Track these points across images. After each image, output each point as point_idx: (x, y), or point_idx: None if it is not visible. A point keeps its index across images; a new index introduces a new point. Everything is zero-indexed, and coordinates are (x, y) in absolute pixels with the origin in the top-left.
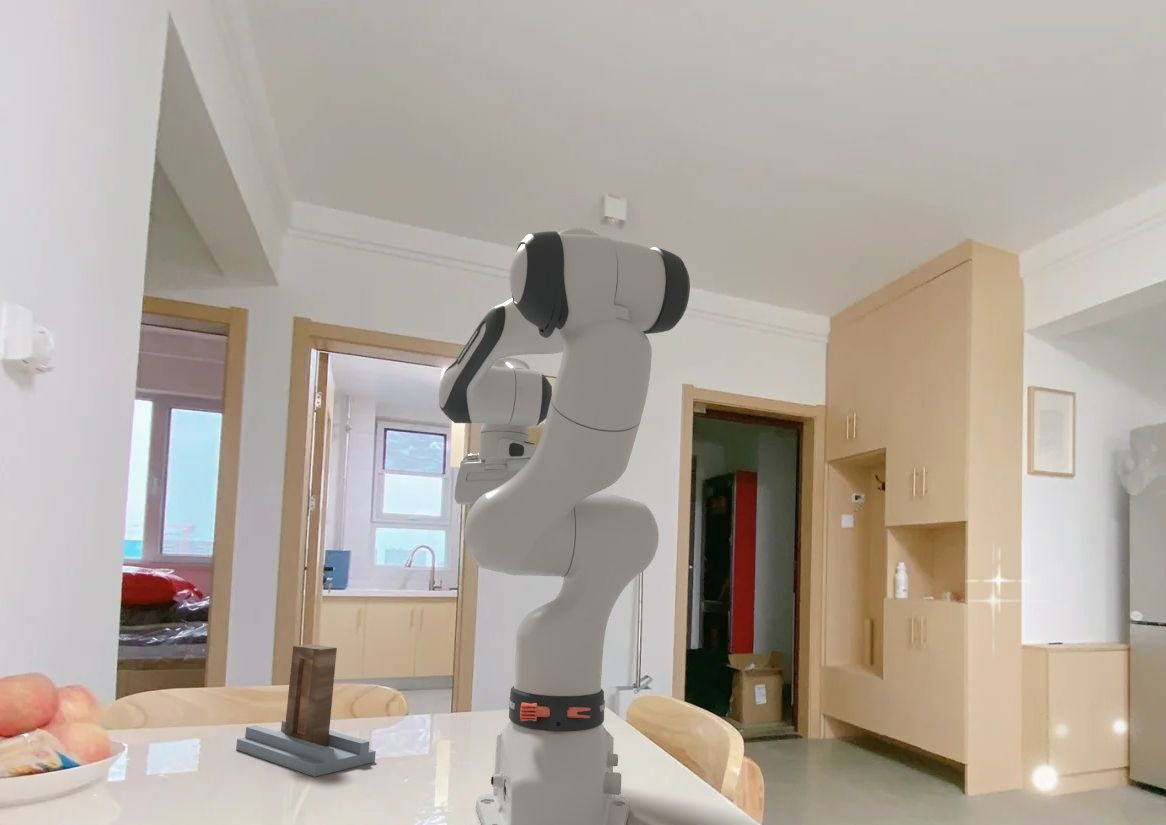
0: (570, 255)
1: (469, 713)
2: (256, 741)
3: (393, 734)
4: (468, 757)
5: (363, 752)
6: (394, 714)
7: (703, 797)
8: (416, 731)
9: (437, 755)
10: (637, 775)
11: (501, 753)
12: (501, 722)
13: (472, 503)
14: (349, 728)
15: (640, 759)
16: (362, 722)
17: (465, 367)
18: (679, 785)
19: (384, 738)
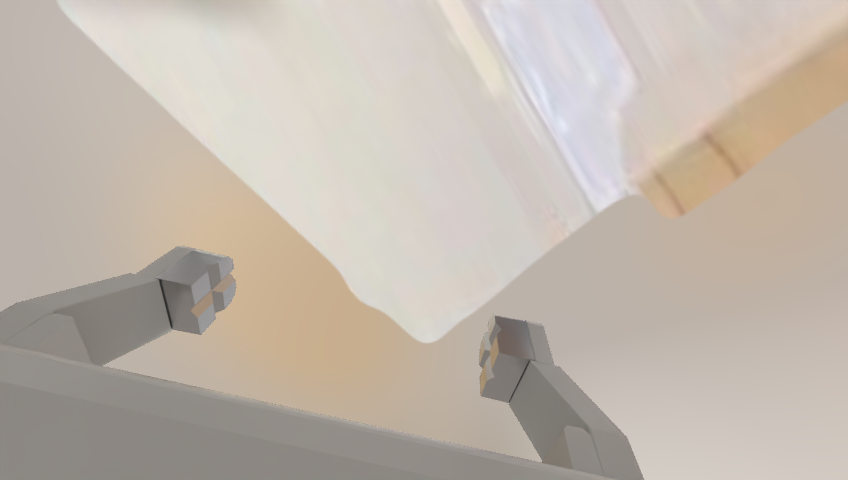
0: None
1: (546, 243)
2: None
3: (589, 74)
4: (417, 23)
5: None
6: (651, 184)
7: (109, 38)
8: (564, 111)
9: (461, 3)
10: (209, 80)
11: None
12: (480, 221)
13: (602, 476)
14: (680, 64)
15: (248, 149)
16: (678, 112)
17: None
18: (154, 69)
19: (590, 42)
